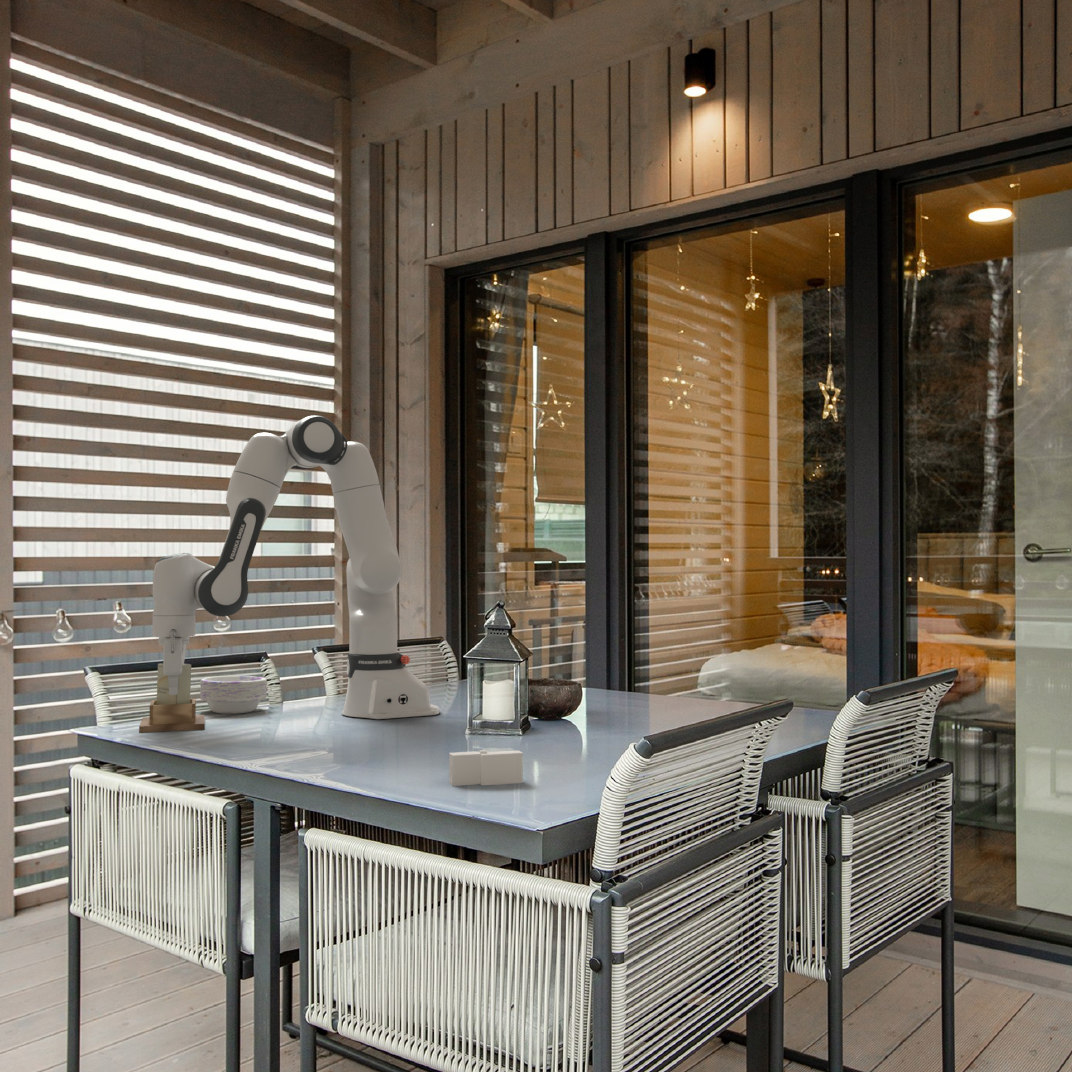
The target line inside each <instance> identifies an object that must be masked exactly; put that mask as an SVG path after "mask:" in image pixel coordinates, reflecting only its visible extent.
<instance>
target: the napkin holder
mask: <svg viewBox="0 0 1072 1072" xmlns="http://www.w3.org/2000/svg"><path fill="white" fill-rule="evenodd" d="M448 755H449V757H448V759H449V760H448V764H449V765H448V771H449V772H448V775H449V776H448V782H449V784H450V786H453V787H454V786H455V787H456V786H471V785H480V786H493V785H494V786H495V785H507V784H508V785H510V784H511V785H512V784H523V783H524V780H523V779H524V777H523V775H524V774H523V772H524V752H522V751H520V750H519V749H518V750H517V749H516V750H501V751H488V750H486V749H485V750H484V749H483V750H482V749H481V750H478V751H477V750H475V751H460V752H459V751H458V752H456V751H455V752H449V753H448Z"/></svg>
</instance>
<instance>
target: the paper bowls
mask: <svg viewBox="0 0 1072 1072" xmlns="http://www.w3.org/2000/svg"><path fill="white" fill-rule="evenodd" d="M267 681H268V680H267V678H266V677H262V676H253V675H222V676H221V675H219V676H218V675H217V676H209V677H204V678H201V679H200V687H199V688H200V689H199V693H200V694H199V696H200V697H199V699H200V700H201V701H205V702H206V703H207V705H208V708H209V709H210V711H211V712H213V713H216V714H221V715H222V714H224V715H236V714H247V713H251V712H253V711H256V709H257V708H258V705H259V703H260V701H263V700H266V699H267V688H268V686H267V684H268V682H267Z"/></svg>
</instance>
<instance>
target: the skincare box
mask: <svg viewBox="0 0 1072 1072" xmlns="http://www.w3.org/2000/svg"><path fill="white" fill-rule="evenodd" d="M191 679H192V664H190V663H184V664H183V669H182V674H181V675H179V678H178V694H177V695H169V684H168V675H164V671H163V662H162V663H157V681H156V682H157V683H156V700H157V703H156V705H171V704H190V699H191V689H192V688H191V685H192V684H191V683H192V682H191V681H192V680H191Z"/></svg>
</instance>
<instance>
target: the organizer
mask: <svg viewBox="0 0 1072 1072" xmlns="http://www.w3.org/2000/svg"><path fill="white" fill-rule="evenodd" d="M196 701H197V699H196V698H190V704H171V705H156V703H157V699H153V700H152V699H151V701H150V704H149V716H148V717H144V716H143V717H142V718H141V721H140V724H139V727H138V730H139V731H138V732H139V733H153V732H154V733H155V732H174V731H175V732H177V731H179V732H180V731H197V730H205V725H206V723H205V721H206V720H205V717H206V715H205V714H196V711H197V709H196V707H197V706H196V705H197V702H196Z"/></svg>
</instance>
